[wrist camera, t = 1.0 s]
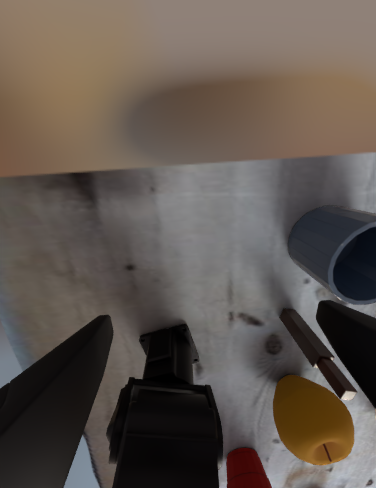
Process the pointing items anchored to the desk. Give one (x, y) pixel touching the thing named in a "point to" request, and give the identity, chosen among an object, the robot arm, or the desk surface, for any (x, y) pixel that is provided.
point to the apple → (312, 421)
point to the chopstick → (317, 353)
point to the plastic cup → (245, 470)
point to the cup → (338, 251)
